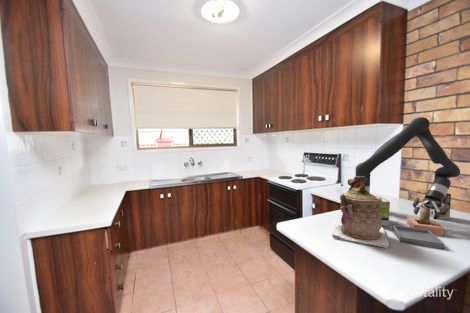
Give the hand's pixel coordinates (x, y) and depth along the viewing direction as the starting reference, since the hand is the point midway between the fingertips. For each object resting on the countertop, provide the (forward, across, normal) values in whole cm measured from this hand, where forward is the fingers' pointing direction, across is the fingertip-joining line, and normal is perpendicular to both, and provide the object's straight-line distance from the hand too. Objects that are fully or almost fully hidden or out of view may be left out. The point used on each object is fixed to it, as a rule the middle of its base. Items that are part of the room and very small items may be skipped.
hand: (424, 216), depth 114 cm
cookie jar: (+32, -12, -21) cm, 40 cm away
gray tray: (+17, +3, -6) cm, 18 cm away
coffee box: (-16, -6, +27) cm, 32 cm away
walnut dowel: (+5, 0, +6) cm, 8 cm away
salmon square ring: (+5, 0, +6) cm, 8 cm away
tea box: (+14, -20, -3) cm, 24 cm away
